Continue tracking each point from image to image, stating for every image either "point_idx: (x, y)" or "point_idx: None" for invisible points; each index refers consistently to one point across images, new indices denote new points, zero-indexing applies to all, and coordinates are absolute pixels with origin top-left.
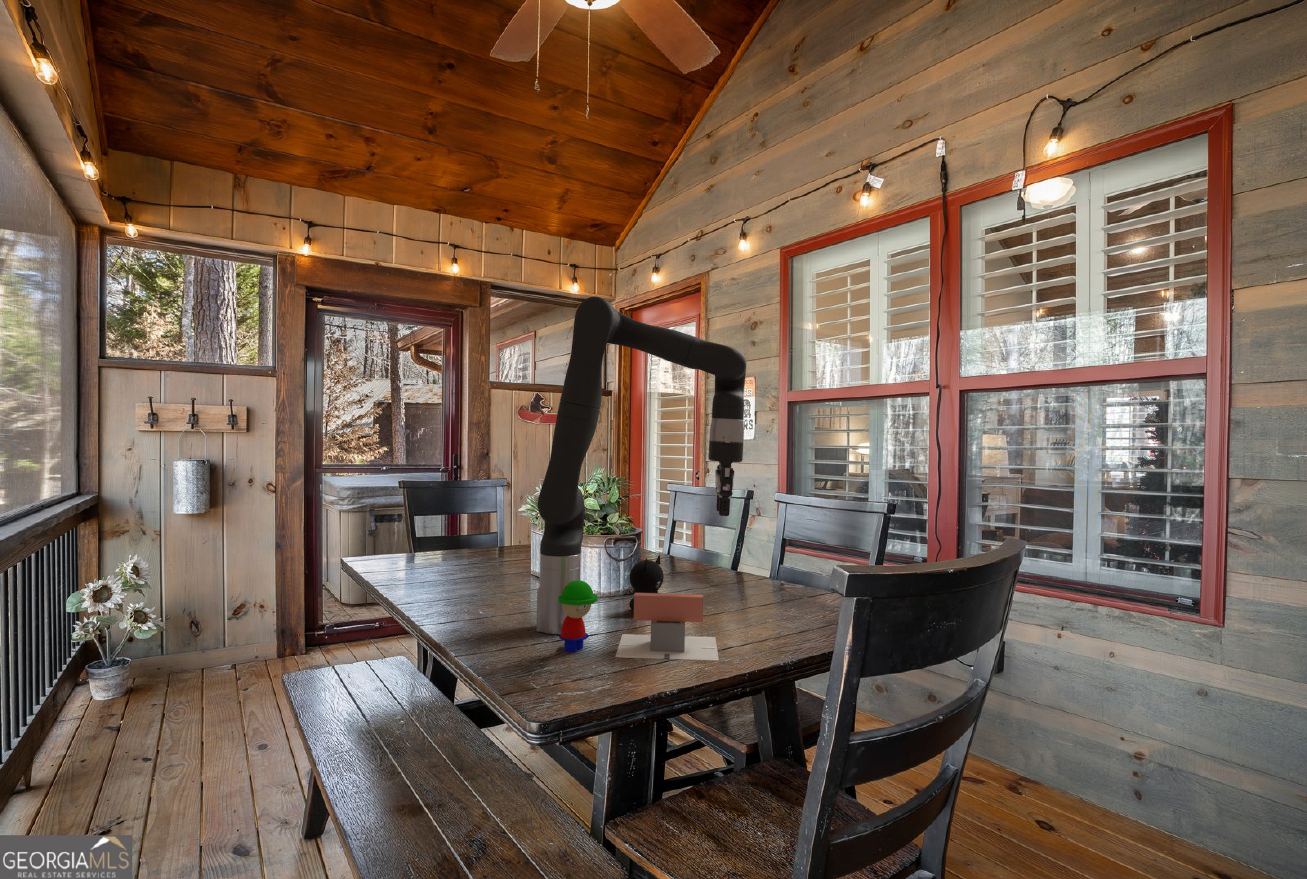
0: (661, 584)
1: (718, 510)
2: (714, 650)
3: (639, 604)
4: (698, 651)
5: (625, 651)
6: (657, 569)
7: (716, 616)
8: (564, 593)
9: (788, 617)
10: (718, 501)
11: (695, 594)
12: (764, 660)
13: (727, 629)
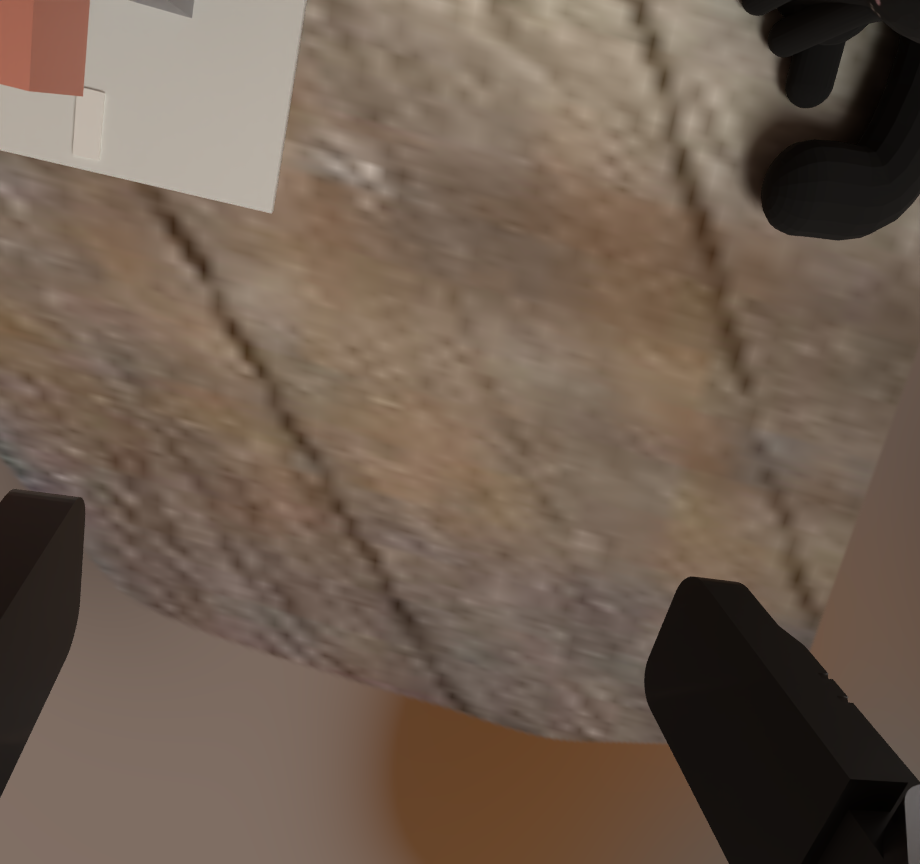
0: (889, 25)
1: (683, 597)
2: (44, 145)
3: None
4: None
5: None
6: None
7: (688, 334)
8: None
9: (603, 620)
10: (759, 696)
11: (32, 30)
12: (9, 361)
13: (477, 328)
